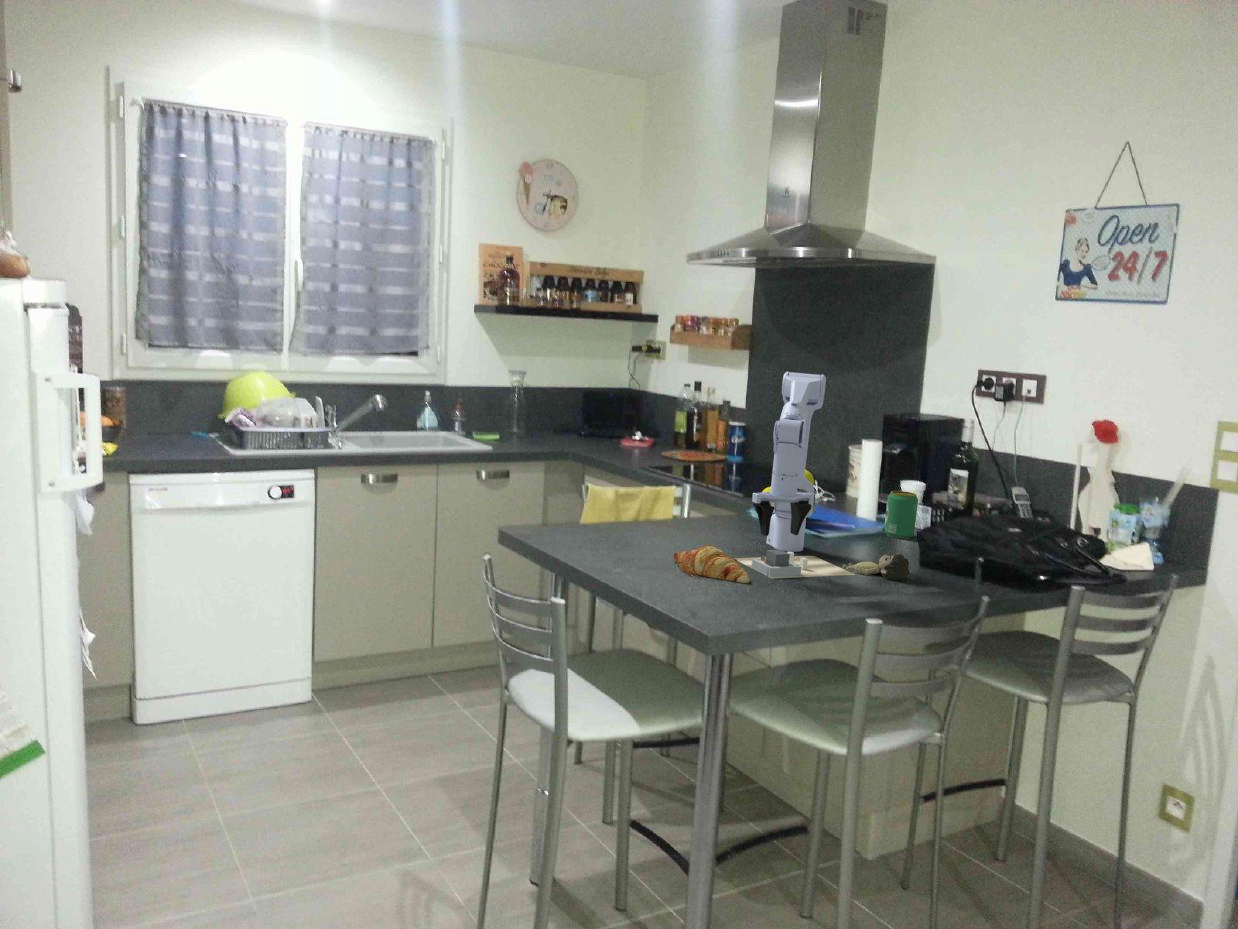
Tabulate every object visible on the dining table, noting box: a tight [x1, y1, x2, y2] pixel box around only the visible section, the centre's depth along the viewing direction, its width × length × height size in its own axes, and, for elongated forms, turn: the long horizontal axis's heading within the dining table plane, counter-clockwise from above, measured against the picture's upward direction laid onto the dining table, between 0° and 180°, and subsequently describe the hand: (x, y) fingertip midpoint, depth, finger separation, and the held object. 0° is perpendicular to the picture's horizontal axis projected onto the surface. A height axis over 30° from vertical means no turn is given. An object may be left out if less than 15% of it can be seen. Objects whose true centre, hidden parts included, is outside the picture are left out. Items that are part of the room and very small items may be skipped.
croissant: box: [673, 544, 751, 584], centre depth 220 cm, size 21×10×8 cm, turn 46°
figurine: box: [842, 553, 910, 582], centre depth 229 cm, size 8×6×15 cm
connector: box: [760, 549, 790, 567], centre depth 226 cm, size 8×4×4 cm, turn 23°
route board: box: [733, 555, 857, 579], centre depth 230 cm, size 17×22×1 cm
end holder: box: [751, 559, 801, 578], centre depth 224 cm, size 8×8×2 cm
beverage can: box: [883, 490, 919, 540], centre depth 277 cm, size 8×8×12 cm
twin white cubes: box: [786, 551, 808, 570], centre depth 231 cm, size 7×1×2 cm, turn 23°
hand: (779, 534), depth 223 cm, fingers open, 7 cm apart
